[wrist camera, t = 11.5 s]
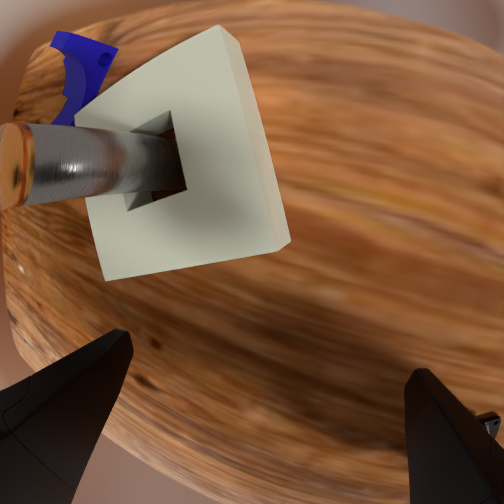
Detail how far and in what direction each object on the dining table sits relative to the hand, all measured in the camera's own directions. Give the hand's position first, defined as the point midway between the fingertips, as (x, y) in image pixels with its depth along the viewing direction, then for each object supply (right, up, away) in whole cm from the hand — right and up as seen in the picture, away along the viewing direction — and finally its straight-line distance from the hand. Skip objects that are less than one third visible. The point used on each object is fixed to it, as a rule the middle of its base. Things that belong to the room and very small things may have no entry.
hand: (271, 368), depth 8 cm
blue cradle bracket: (-17, +18, +15) cm, 29 cm away
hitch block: (-6, +10, +12) cm, 16 cm away
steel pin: (-6, +10, +12) cm, 16 cm away
